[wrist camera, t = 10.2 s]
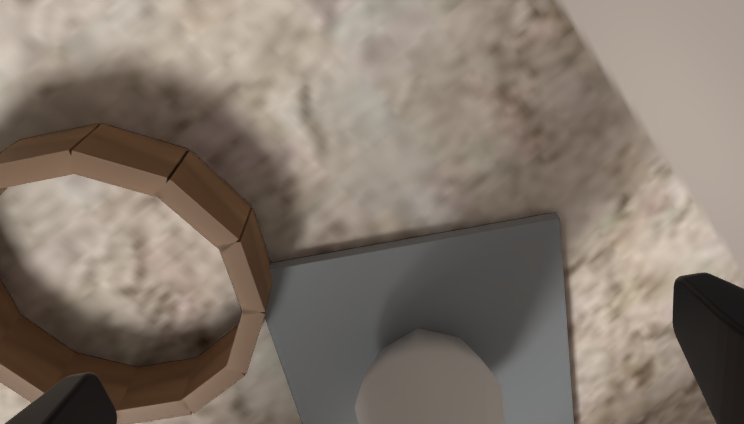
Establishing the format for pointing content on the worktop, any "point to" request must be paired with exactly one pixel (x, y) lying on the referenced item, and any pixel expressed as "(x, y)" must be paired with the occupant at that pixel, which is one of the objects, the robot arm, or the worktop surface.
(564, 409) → the mat
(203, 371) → the holder ring
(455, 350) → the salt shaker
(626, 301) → the worktop surface
